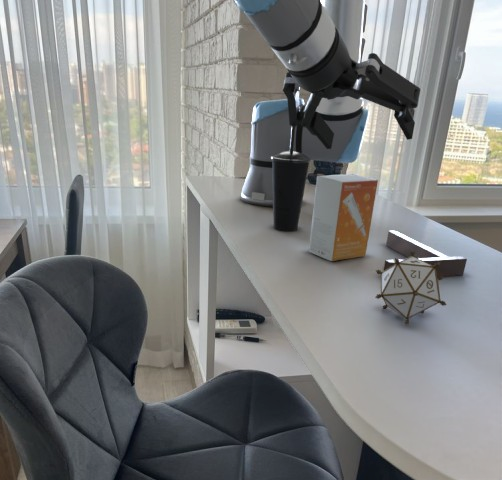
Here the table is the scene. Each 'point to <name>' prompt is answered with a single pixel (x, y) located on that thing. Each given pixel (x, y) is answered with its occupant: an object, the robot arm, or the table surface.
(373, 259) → the table surface
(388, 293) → the game die
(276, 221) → the drinking cup
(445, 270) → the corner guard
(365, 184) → the small box
